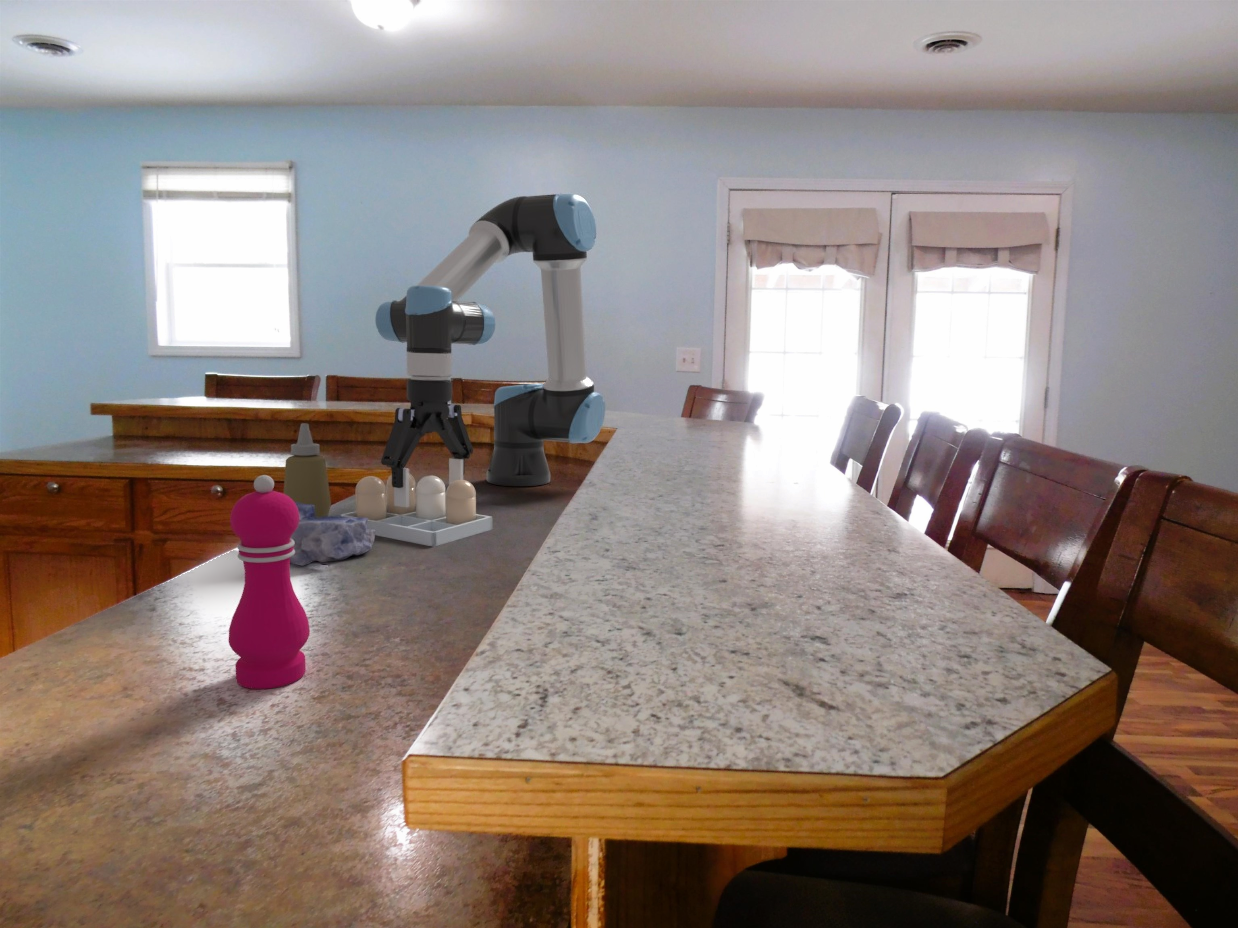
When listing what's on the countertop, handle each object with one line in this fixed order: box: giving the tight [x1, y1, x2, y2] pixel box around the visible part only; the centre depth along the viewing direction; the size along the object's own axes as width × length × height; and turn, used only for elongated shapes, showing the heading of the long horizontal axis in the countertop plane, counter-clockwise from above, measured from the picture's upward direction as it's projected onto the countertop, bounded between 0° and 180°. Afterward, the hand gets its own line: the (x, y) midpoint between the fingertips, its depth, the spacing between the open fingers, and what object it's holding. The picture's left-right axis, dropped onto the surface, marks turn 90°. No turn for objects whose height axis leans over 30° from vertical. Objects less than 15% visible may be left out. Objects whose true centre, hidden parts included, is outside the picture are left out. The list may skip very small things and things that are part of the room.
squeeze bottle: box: [282, 423, 332, 518], centre depth 138 cm, size 8×8×18 cm
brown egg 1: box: [355, 475, 387, 521], centre depth 136 cm, size 5×5×9 cm
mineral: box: [290, 502, 376, 567], centre depth 117 cm, size 14×10×10 cm
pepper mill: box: [228, 474, 311, 690], centre depth 76 cm, size 7×7×20 cm
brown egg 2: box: [386, 473, 417, 515], centre depth 142 cm, size 5×5×9 cm
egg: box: [415, 474, 446, 520], centre depth 138 cm, size 5×5×9 cm
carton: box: [337, 503, 494, 548], centre depth 136 cm, size 15×22×3 cm
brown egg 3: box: [445, 479, 477, 525], centre depth 135 cm, size 5×5×9 cm
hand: (430, 500), depth 139 cm, fingers open, 13 cm apart
